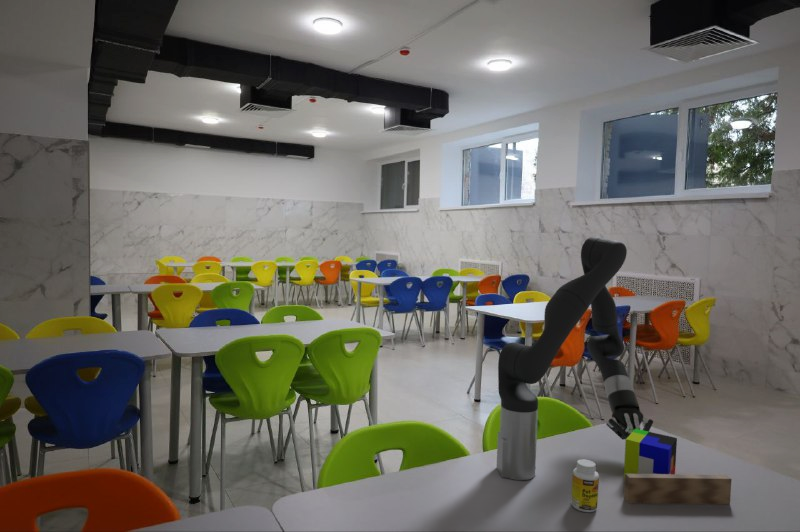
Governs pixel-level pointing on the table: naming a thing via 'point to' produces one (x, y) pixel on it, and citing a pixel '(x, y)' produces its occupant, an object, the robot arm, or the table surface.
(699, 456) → the table surface
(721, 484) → the board
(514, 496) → the table surface
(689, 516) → the table surface
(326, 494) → the table surface
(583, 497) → the supplement bottle
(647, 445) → the puzzle toy
